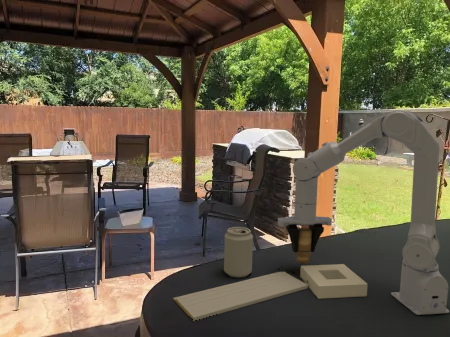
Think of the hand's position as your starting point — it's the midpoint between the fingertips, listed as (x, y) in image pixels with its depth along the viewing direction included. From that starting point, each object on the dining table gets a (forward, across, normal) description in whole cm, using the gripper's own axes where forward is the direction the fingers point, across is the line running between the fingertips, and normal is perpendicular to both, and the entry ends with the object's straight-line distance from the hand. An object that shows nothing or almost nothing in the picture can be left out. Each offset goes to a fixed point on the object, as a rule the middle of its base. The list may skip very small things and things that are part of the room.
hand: (303, 251), depth 99 cm
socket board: (+6, -4, +10) cm, 12 cm away
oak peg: (+3, 0, 0) cm, 3 cm away
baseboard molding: (+6, +19, +11) cm, 23 cm away
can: (+6, +18, 0) cm, 19 cm away
